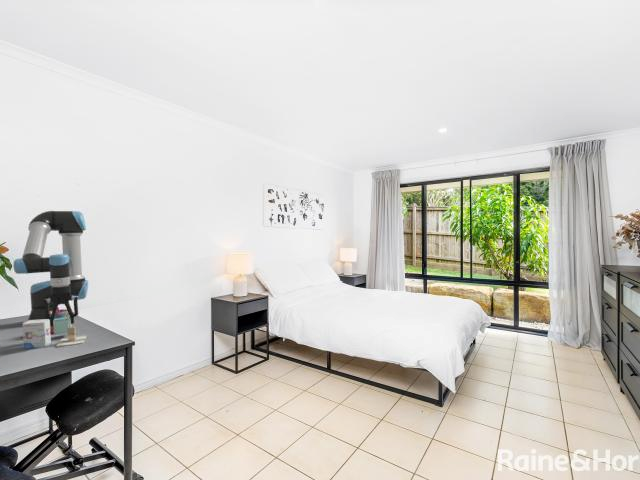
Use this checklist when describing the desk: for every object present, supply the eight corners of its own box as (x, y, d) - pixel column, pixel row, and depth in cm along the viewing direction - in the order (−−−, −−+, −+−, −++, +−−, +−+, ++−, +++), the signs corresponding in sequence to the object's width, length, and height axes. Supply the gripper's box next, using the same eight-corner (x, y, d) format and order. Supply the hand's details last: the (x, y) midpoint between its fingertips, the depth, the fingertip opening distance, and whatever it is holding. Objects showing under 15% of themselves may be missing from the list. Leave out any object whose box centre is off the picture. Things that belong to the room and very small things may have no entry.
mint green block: (57, 331, 158) (56, 318, 158) (70, 329, 161) (70, 317, 160) (55, 334, 154) (54, 321, 153) (68, 332, 156) (68, 319, 156)
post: (61, 339, 153) (60, 325, 153) (86, 335, 158) (86, 322, 158) (55, 347, 143) (54, 332, 142) (83, 343, 148) (82, 328, 147)
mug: (45, 335, 159) (44, 315, 159) (46, 331, 166) (45, 311, 166) (75, 330, 167) (74, 310, 166) (75, 326, 174) (74, 307, 173)
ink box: (22, 349, 141) (21, 323, 141) (29, 345, 146) (28, 320, 146) (45, 347, 144) (44, 321, 143) (51, 343, 149) (50, 318, 148)
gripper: (34, 289, 148) (37, 337, 149) (82, 285, 157) (84, 330, 158) (38, 286, 154) (41, 332, 156) (84, 282, 163) (86, 326, 165)
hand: (63, 331), depth 157 cm, fingers closed on mint green block, 5 cm apart
